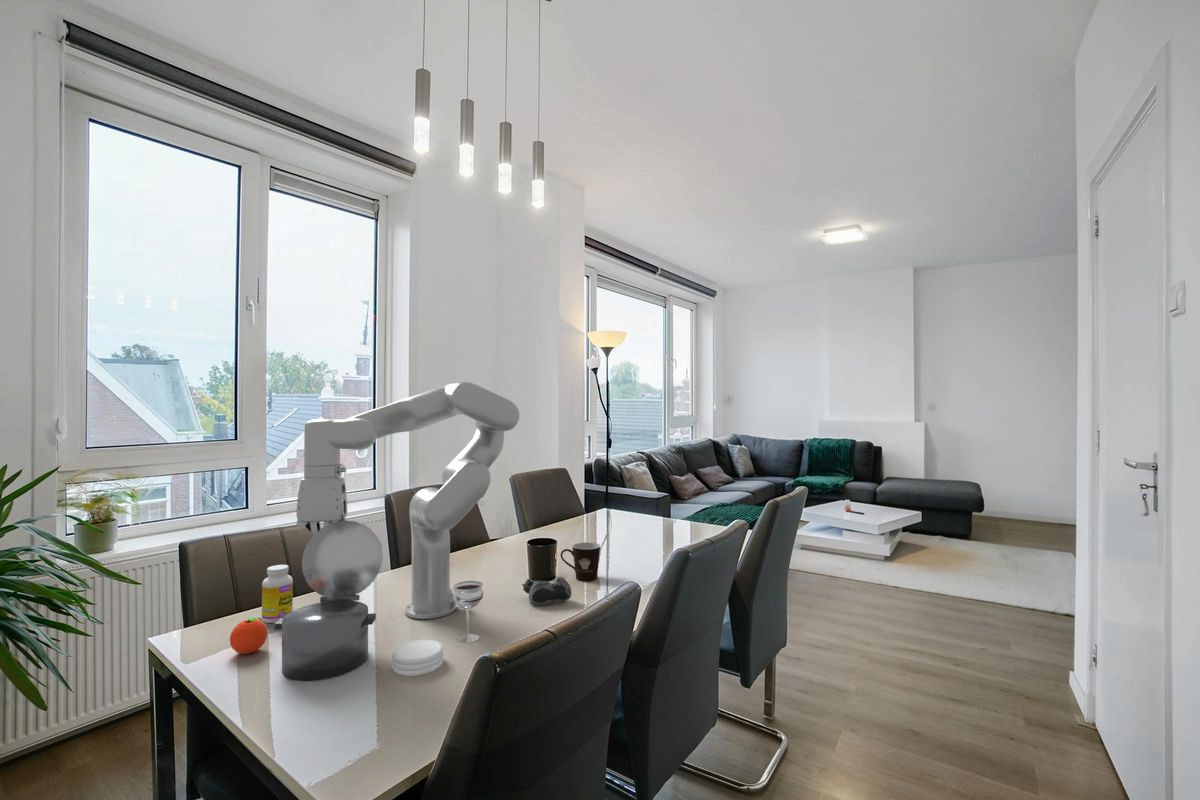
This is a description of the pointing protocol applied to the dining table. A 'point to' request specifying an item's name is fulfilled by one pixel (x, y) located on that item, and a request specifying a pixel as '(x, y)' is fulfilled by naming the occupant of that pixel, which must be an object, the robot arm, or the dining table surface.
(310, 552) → the lid
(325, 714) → the dining table surface
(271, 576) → the supplement bottle
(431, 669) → the white round stack
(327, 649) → the pot
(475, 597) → the wineglass
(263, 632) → the clementine
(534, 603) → the bison figurine
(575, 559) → the coffee mug
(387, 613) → the dining table surface
